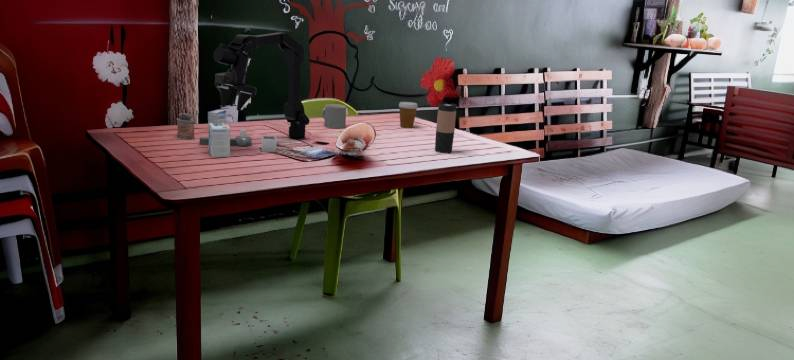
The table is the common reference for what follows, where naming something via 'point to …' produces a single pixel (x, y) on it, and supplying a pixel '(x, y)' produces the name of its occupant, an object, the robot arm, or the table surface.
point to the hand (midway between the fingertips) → (230, 108)
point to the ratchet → (233, 140)
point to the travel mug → (445, 127)
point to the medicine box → (216, 117)
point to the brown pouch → (185, 126)
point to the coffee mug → (334, 116)
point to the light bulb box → (219, 140)
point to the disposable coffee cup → (407, 114)
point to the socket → (269, 143)
